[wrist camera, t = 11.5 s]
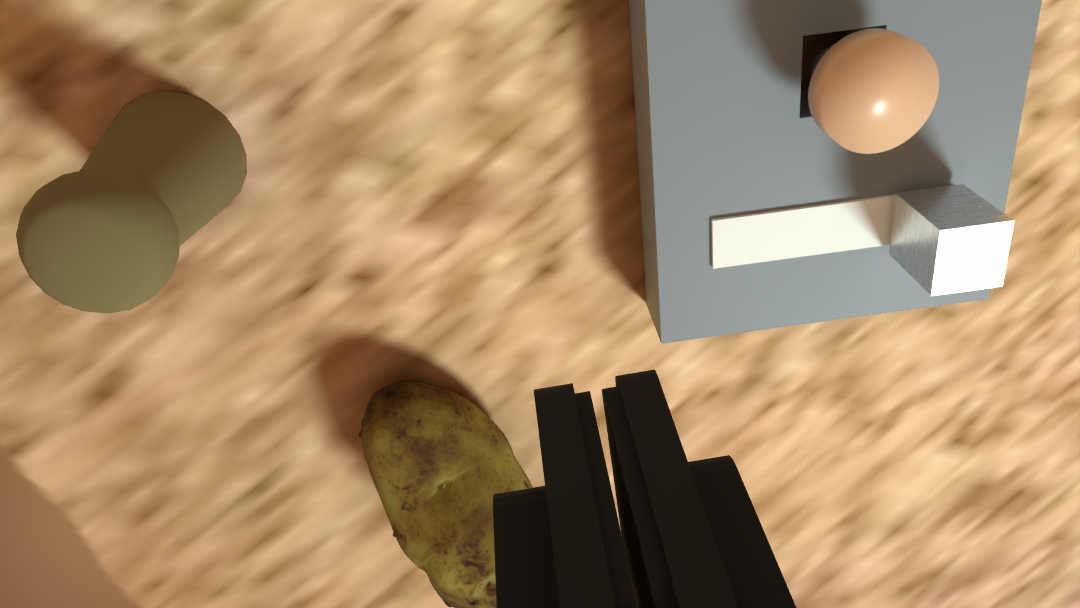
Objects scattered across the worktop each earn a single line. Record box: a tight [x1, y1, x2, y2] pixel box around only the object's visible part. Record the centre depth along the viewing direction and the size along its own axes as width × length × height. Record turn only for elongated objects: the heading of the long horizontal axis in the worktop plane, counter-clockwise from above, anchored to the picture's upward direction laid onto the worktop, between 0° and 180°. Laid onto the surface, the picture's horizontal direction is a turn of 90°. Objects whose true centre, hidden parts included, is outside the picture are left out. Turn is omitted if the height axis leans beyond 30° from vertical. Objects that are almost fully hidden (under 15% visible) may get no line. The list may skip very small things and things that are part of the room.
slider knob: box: [889, 184, 1014, 296], centre depth 36 cm, size 3×3×4 cm
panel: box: [629, 0, 1042, 343], centre depth 36 cm, size 22×16×4 cm
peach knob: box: [808, 28, 939, 154], centre depth 33 cm, size 4×4×4 cm
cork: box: [16, 91, 247, 313], centre depth 33 cm, size 6×6×11 cm
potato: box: [359, 381, 533, 608], centre depth 44 cm, size 8×13×8 cm, turn 12°
